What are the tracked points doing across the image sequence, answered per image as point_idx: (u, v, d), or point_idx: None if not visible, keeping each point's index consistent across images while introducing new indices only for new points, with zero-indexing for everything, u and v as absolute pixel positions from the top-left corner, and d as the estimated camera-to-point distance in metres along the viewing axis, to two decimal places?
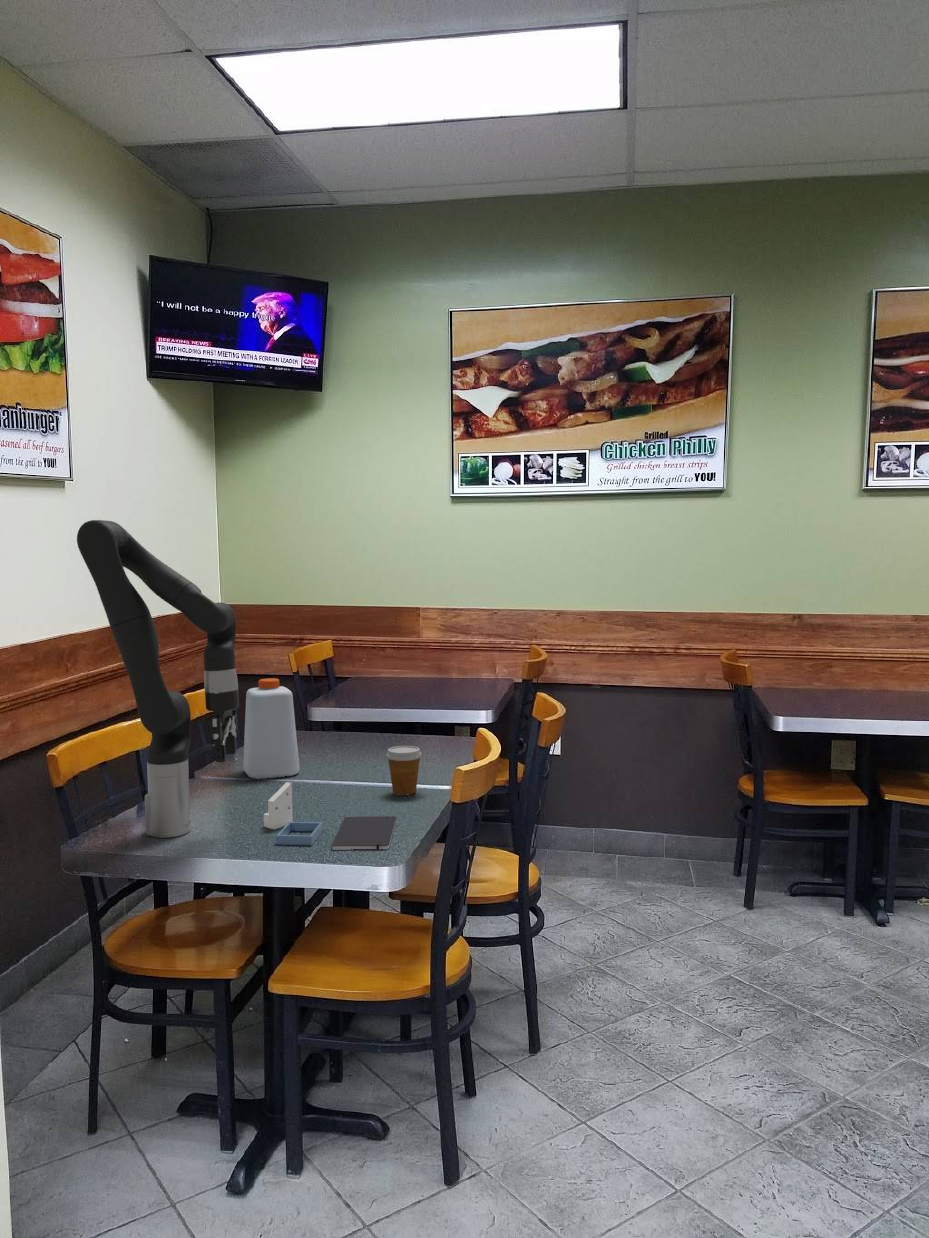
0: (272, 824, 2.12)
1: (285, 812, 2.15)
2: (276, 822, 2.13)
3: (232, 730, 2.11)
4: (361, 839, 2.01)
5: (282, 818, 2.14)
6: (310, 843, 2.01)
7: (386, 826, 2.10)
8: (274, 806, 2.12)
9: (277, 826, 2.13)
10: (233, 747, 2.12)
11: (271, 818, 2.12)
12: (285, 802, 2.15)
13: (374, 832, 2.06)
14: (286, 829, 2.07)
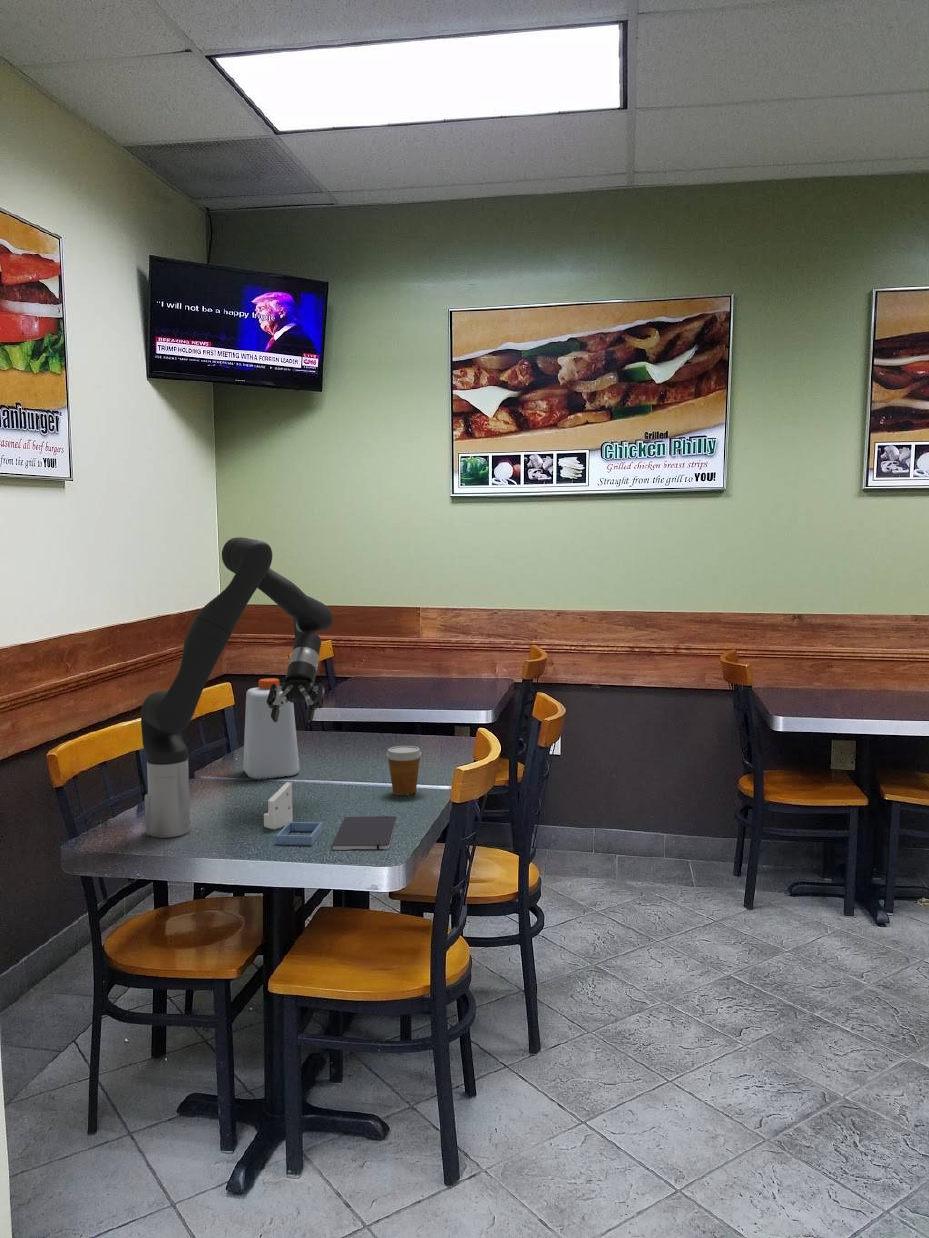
0: (272, 824, 2.12)
1: (285, 812, 2.15)
2: (276, 822, 2.13)
3: (285, 703, 2.30)
4: (361, 839, 2.01)
5: (282, 818, 2.14)
6: (310, 843, 2.01)
7: (386, 826, 2.11)
8: (274, 806, 2.12)
9: (277, 826, 2.13)
10: (278, 716, 2.27)
11: (271, 818, 2.12)
12: (285, 802, 2.15)
13: (374, 832, 2.06)
14: (286, 829, 2.07)
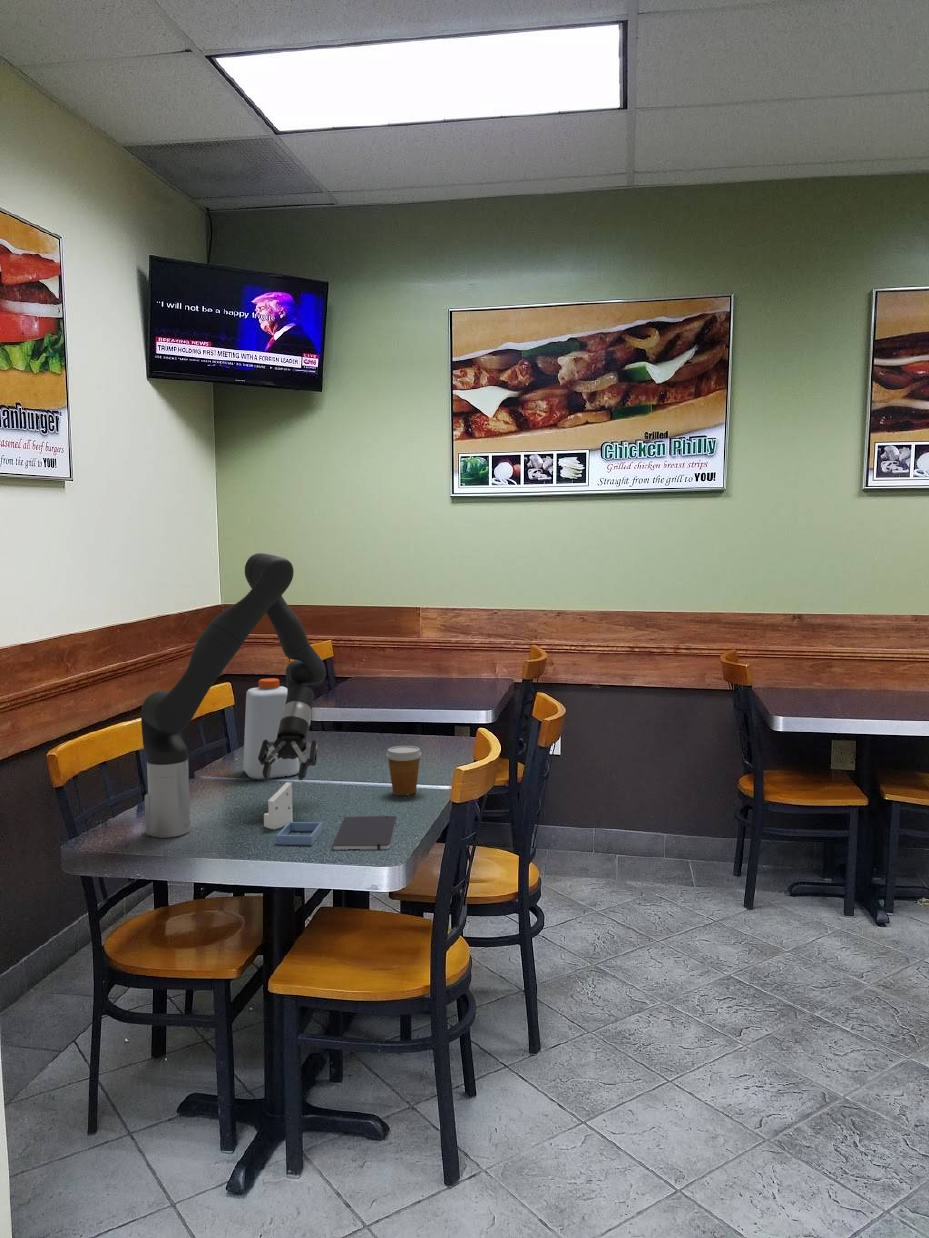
0: (272, 824, 2.12)
1: (285, 812, 2.15)
2: (276, 822, 2.13)
3: (277, 760, 2.25)
4: (361, 839, 2.01)
5: (282, 818, 2.14)
6: (310, 843, 2.01)
7: (386, 826, 2.11)
8: (274, 806, 2.12)
9: (277, 826, 2.13)
10: (269, 774, 2.22)
11: (272, 818, 2.12)
12: (285, 802, 2.15)
13: (374, 832, 2.06)
14: (286, 829, 2.07)
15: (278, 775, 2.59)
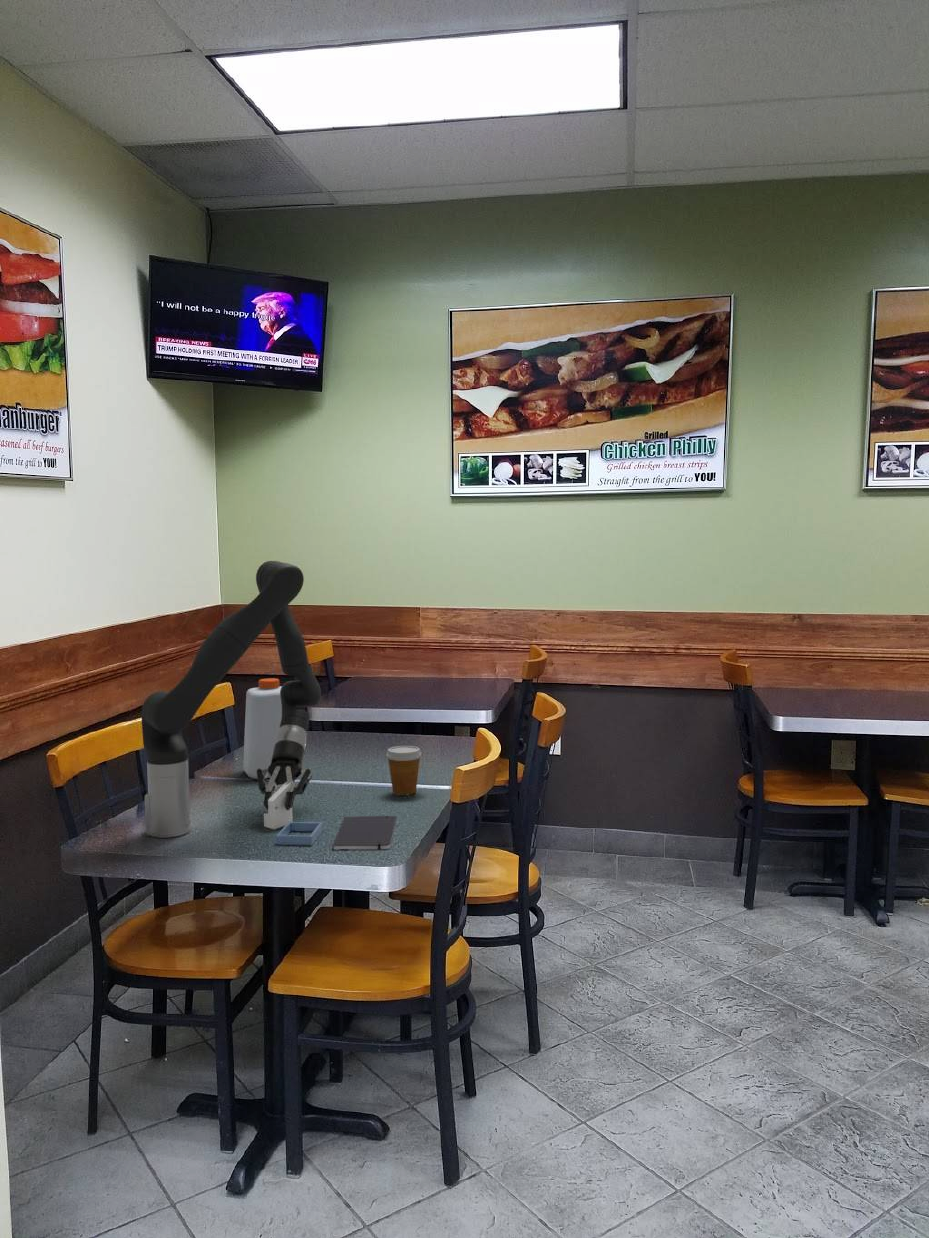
0: (272, 824, 2.12)
1: (285, 812, 2.15)
2: (276, 821, 2.13)
3: (276, 787, 2.18)
4: (362, 839, 2.01)
5: (282, 818, 2.14)
6: (310, 843, 2.01)
7: (386, 826, 2.11)
8: (274, 806, 2.12)
9: (277, 825, 2.13)
10: None
11: (271, 818, 2.12)
12: None
13: (375, 832, 2.06)
14: (286, 829, 2.07)
15: None
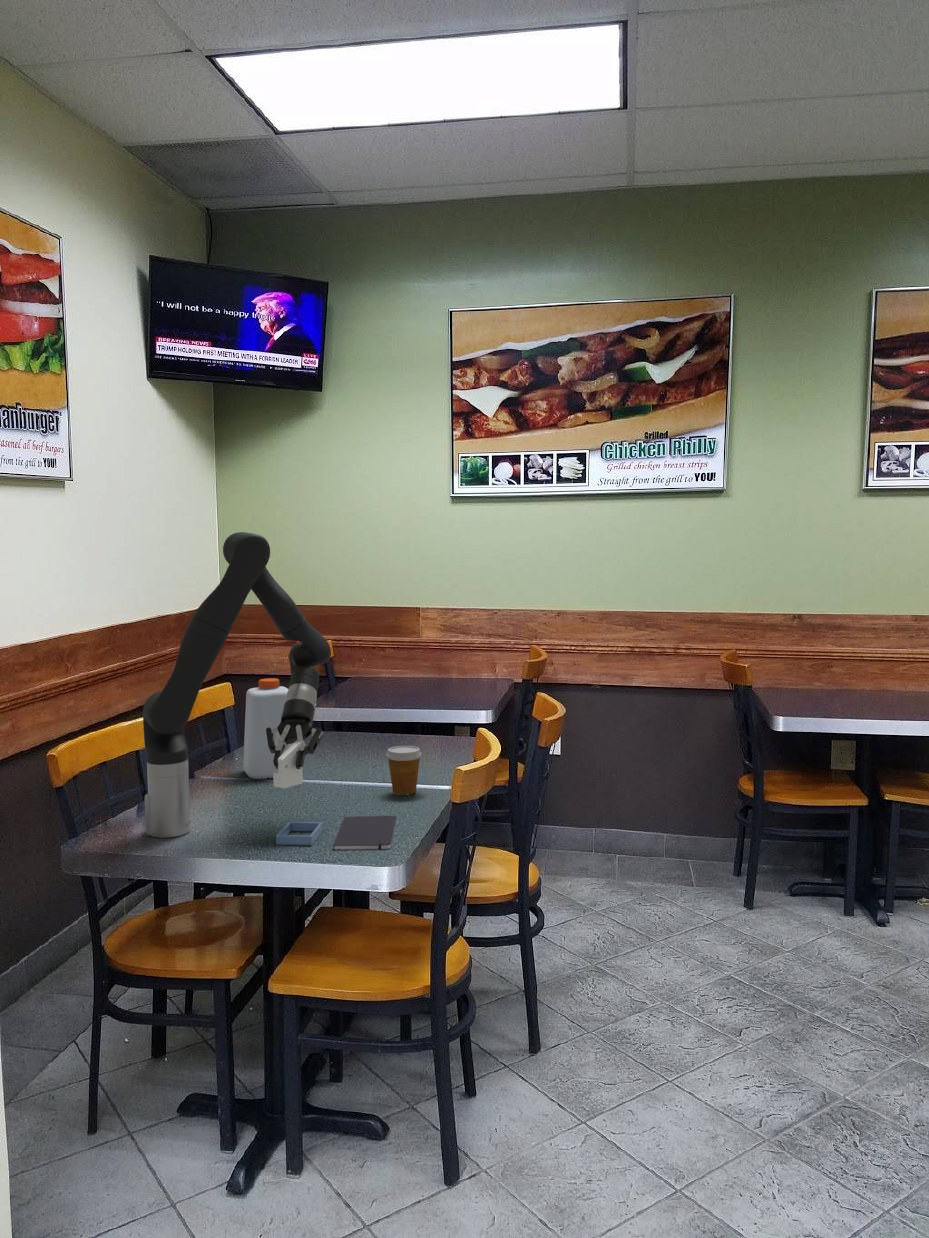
0: (282, 783, 2.07)
1: (295, 771, 2.09)
2: (286, 781, 2.07)
3: (286, 746, 2.12)
4: (362, 839, 2.01)
5: (292, 777, 2.08)
6: (310, 843, 2.01)
7: (386, 825, 2.11)
8: (284, 764, 2.06)
9: (287, 785, 2.07)
10: None
11: (281, 777, 2.07)
12: (295, 761, 2.09)
13: (375, 831, 2.07)
14: (286, 829, 2.07)
15: None
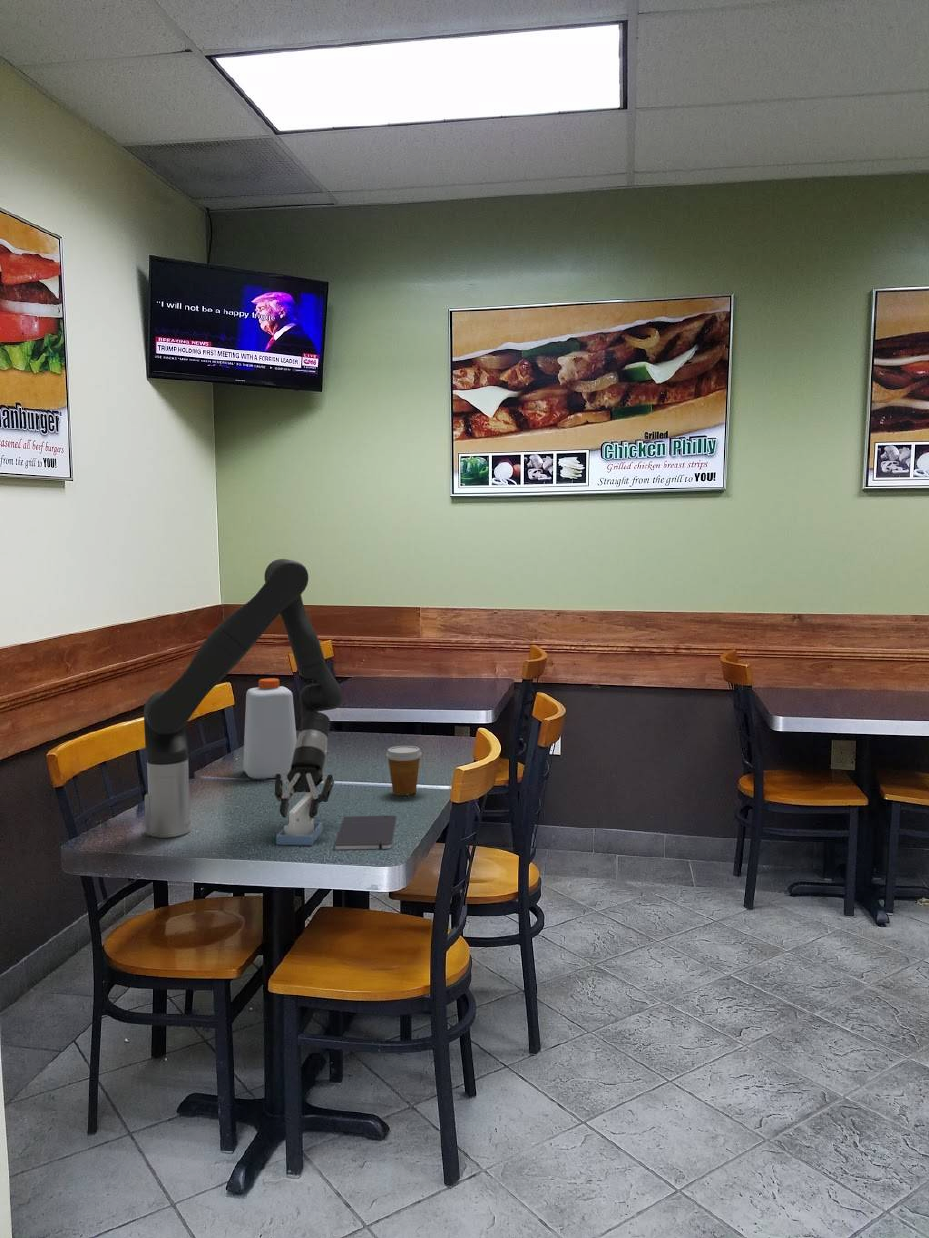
0: None
1: (307, 824, 2.06)
2: (297, 834, 2.03)
3: (294, 794, 2.09)
4: (363, 839, 2.01)
5: (304, 830, 2.05)
6: (310, 843, 2.01)
7: (387, 825, 2.11)
8: (295, 818, 2.03)
9: None
10: (287, 811, 2.06)
11: (293, 830, 2.03)
12: (307, 814, 2.05)
13: (375, 831, 2.07)
14: None
15: None
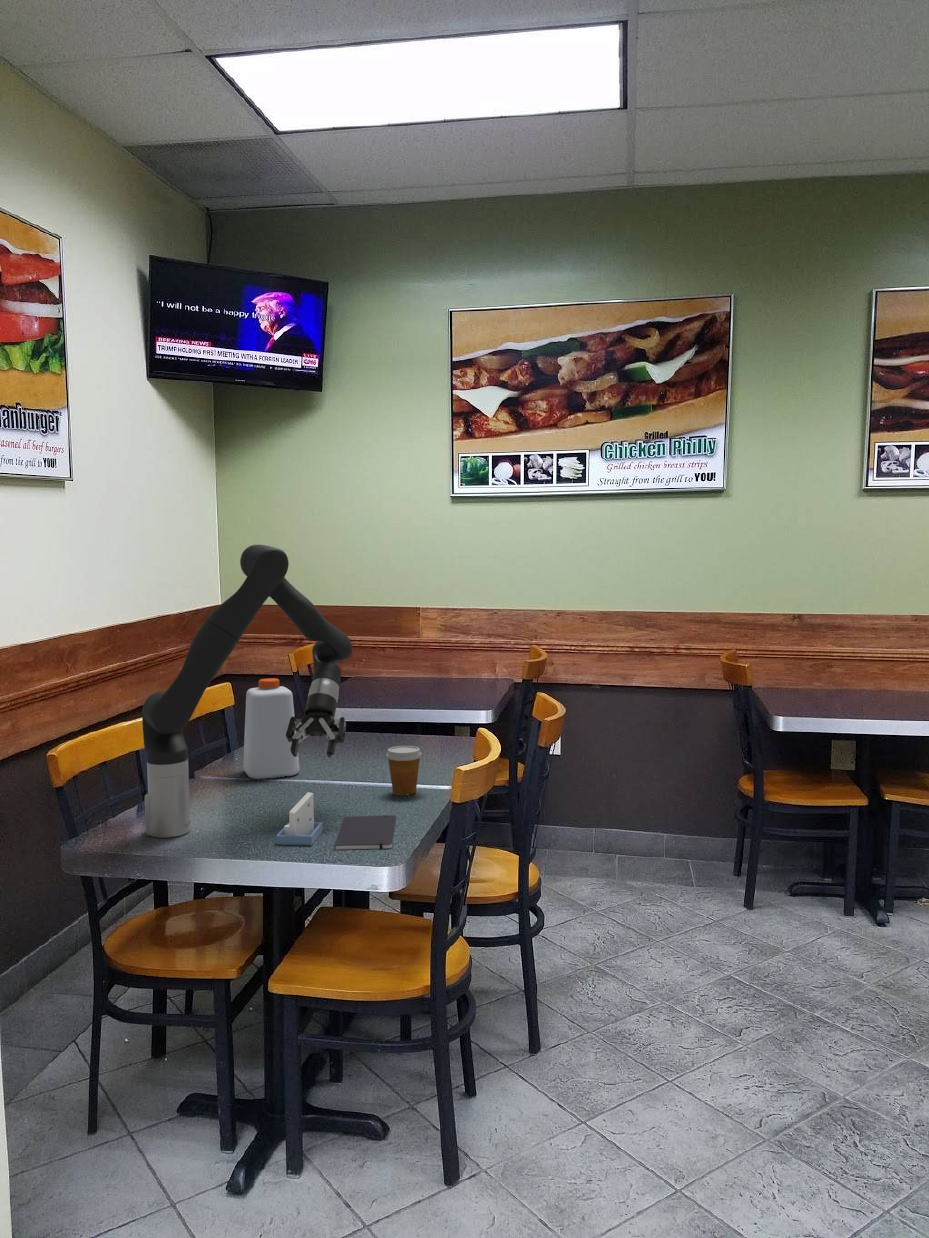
0: None
1: (307, 824, 2.06)
2: (298, 834, 2.03)
3: (305, 737, 2.21)
4: (363, 839, 2.02)
5: (304, 830, 2.05)
6: (310, 843, 2.01)
7: (387, 825, 2.11)
8: (296, 818, 2.03)
9: None
10: (297, 751, 2.18)
11: (293, 830, 2.03)
12: (307, 814, 2.05)
13: (376, 831, 2.07)
14: None
15: (278, 775, 2.59)
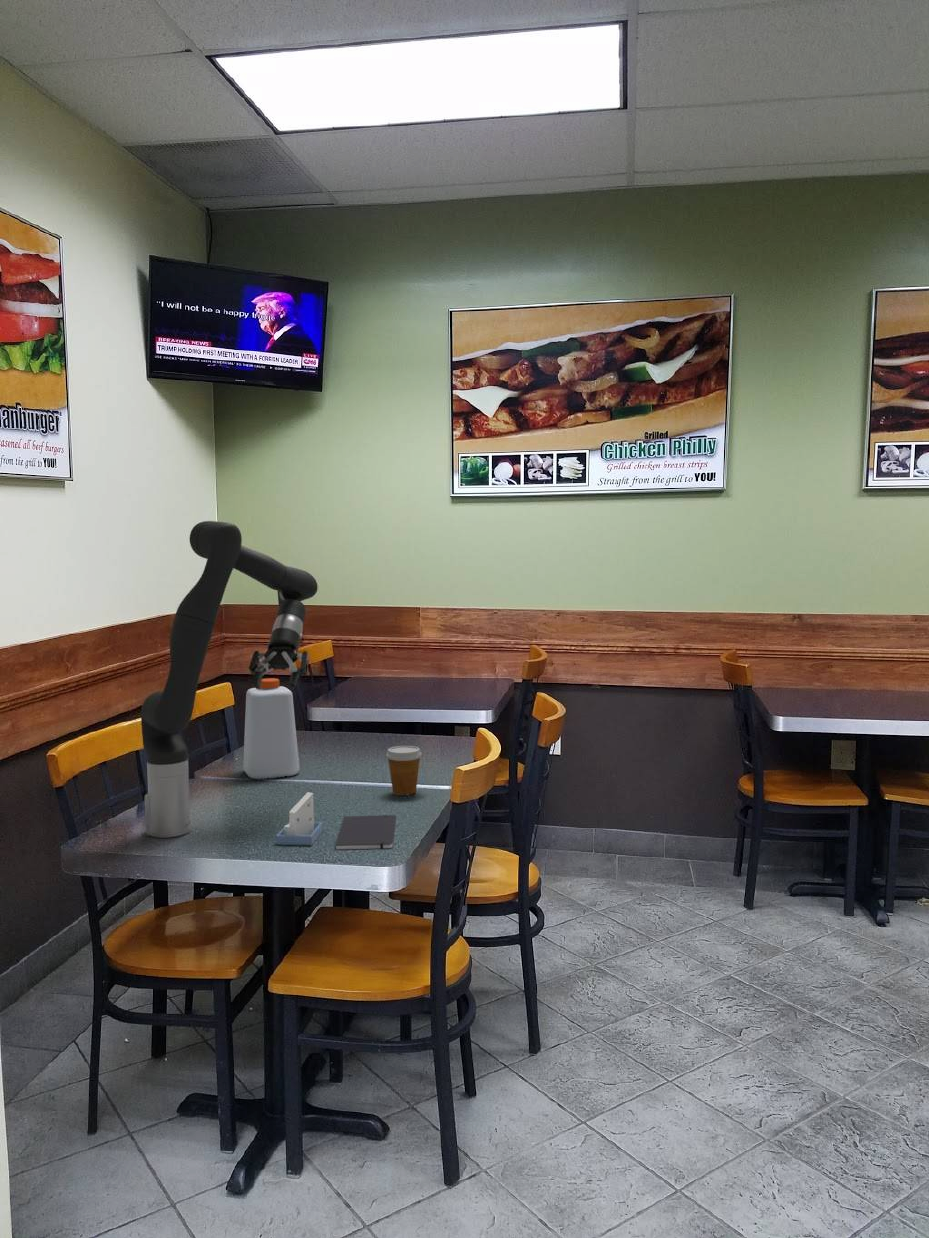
0: None
1: (307, 824, 2.06)
2: (298, 834, 2.03)
3: (268, 670, 2.24)
4: (364, 838, 2.02)
5: (304, 830, 2.05)
6: (310, 843, 2.01)
7: (387, 825, 2.11)
8: (296, 818, 2.03)
9: None
10: (260, 683, 2.21)
11: (293, 830, 2.03)
12: (307, 814, 2.05)
13: (376, 831, 2.07)
14: None
15: (278, 775, 2.59)
